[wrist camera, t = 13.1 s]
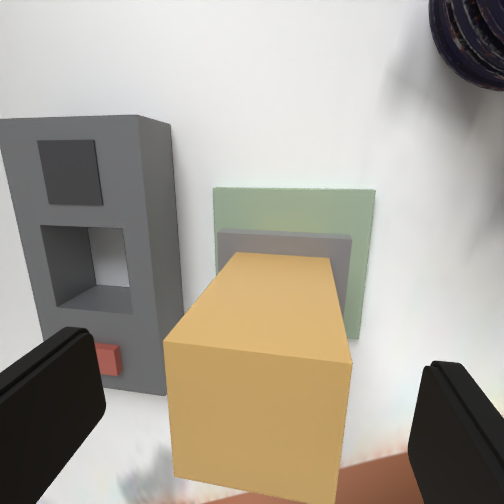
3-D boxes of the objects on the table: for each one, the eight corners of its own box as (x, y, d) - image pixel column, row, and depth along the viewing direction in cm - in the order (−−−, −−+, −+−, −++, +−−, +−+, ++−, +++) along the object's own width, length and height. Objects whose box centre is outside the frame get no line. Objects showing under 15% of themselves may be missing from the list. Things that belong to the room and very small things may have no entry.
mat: (216, 187, 20) (212, 188, 19) (372, 189, 18) (375, 190, 18) (220, 320, 23) (217, 325, 22) (356, 332, 21) (358, 339, 20)
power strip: (50, 127, 21) (-17, 117, 17) (170, 124, 19) (130, 112, 15) (89, 348, 26) (45, 385, 22) (187, 360, 25) (161, 402, 20)
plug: (239, 215, 20) (123, 302, 7) (340, 219, 18) (405, 330, 6) (239, 304, 21) (146, 494, 9) (331, 312, 20) (367, 541, 8)
